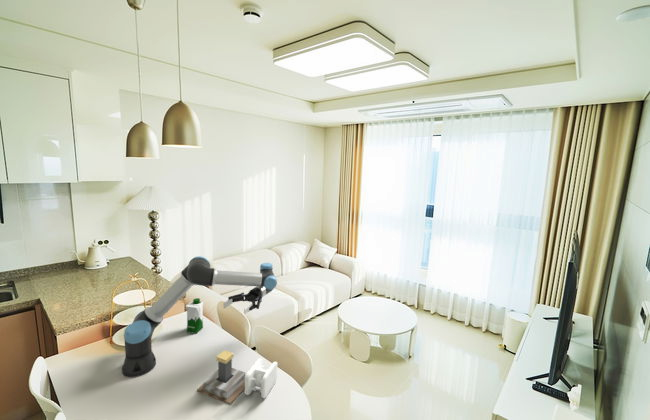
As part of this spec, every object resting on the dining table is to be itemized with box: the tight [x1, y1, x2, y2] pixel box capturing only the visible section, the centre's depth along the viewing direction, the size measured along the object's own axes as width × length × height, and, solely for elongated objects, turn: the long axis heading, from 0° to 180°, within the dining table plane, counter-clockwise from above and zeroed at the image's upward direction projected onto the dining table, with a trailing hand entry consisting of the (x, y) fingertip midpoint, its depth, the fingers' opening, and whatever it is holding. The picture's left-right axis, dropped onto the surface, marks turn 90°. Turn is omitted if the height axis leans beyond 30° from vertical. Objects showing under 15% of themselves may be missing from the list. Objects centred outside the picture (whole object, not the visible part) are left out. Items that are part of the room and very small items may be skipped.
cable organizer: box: [244, 357, 278, 399], centre depth 144 cm, size 15×11×12 cm
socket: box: [196, 367, 246, 405], centre depth 145 cm, size 20×16×5 cm
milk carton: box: [185, 297, 204, 334], centre depth 190 cm, size 9×9×20 cm
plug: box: [215, 350, 235, 383], centre depth 144 cm, size 6×6×16 cm
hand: (234, 308), depth 157 cm, fingers open, 13 cm apart
